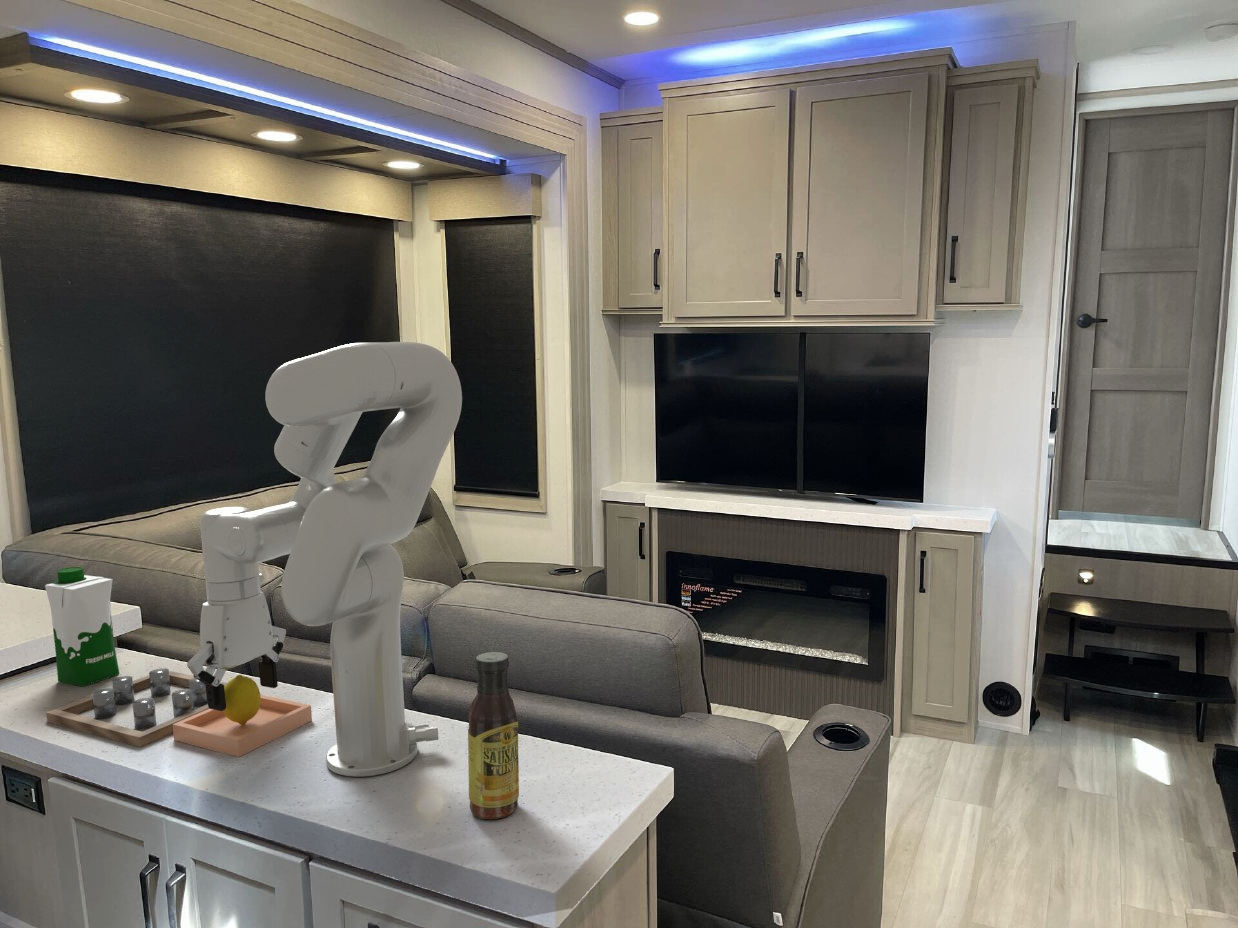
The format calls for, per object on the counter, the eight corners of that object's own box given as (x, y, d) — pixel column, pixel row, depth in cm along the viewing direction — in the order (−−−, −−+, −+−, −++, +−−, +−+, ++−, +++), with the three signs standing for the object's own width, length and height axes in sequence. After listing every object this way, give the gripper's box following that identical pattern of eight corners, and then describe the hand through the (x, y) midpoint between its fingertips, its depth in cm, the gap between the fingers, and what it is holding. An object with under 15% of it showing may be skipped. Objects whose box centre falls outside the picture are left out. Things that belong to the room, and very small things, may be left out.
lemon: (268, 717, 141) (265, 668, 140) (251, 732, 136) (247, 682, 135) (235, 716, 142) (231, 668, 141) (216, 731, 136) (212, 681, 135)
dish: (312, 720, 142) (310, 705, 142) (238, 756, 130) (237, 740, 129) (249, 706, 148) (248, 691, 148) (174, 739, 136) (172, 724, 136)
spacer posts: (224, 703, 150) (222, 680, 150) (153, 733, 139) (151, 708, 138) (153, 687, 158) (151, 665, 158) (81, 714, 147) (78, 691, 146)
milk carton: (95, 666, 170) (85, 563, 167) (128, 673, 166) (117, 567, 163) (49, 682, 162) (37, 574, 159) (82, 689, 158) (70, 578, 155)
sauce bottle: (487, 828, 109) (480, 670, 106) (460, 809, 113) (452, 657, 111) (531, 809, 113) (525, 656, 110) (503, 791, 118) (497, 644, 115)
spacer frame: (254, 696, 152) (253, 688, 152) (140, 746, 134) (139, 737, 134) (164, 677, 163) (163, 669, 163) (47, 721, 144) (46, 712, 144)
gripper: (262, 573, 146) (271, 675, 148) (166, 601, 130) (177, 714, 132) (295, 577, 142) (304, 681, 144) (201, 606, 127) (212, 722, 129)
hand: (244, 697), depth 138 cm, fingers open, 9 cm apart
